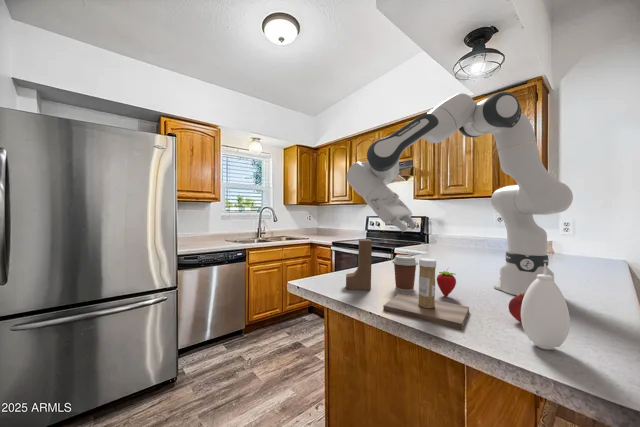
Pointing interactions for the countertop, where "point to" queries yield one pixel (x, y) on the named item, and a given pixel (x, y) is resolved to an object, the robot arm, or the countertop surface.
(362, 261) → the wooden block
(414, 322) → the countertop surface
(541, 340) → the sauce bottle
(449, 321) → the walnut board
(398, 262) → the coffee cup
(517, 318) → the onion
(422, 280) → the sprinkles bottle
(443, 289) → the strawberry
